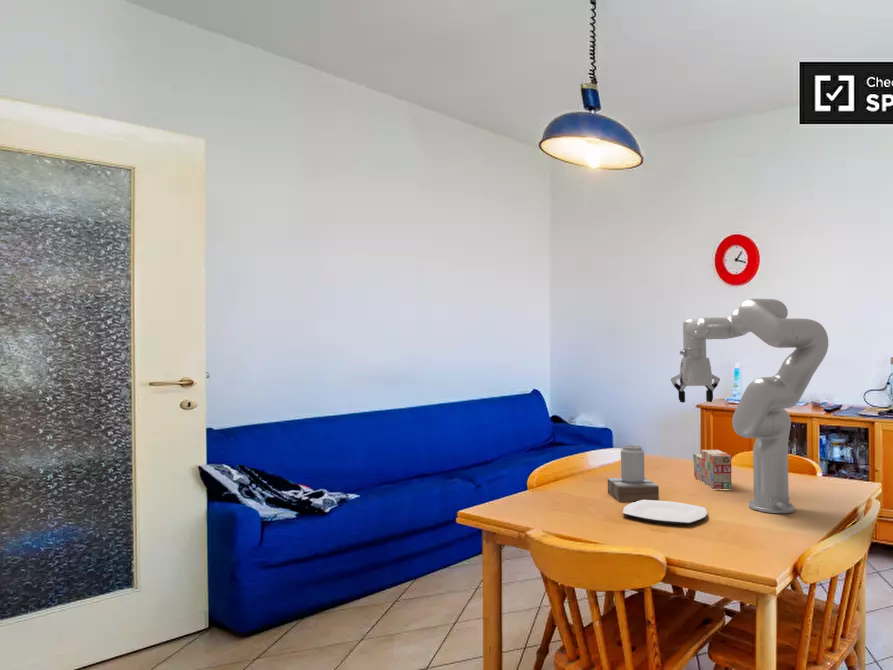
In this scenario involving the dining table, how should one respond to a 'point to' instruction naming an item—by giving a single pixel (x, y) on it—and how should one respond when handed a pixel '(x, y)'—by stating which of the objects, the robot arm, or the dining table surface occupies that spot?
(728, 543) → the dining table surface
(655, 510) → the plate
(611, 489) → the riser
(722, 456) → the stack of blocks
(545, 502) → the dining table surface
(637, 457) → the can
